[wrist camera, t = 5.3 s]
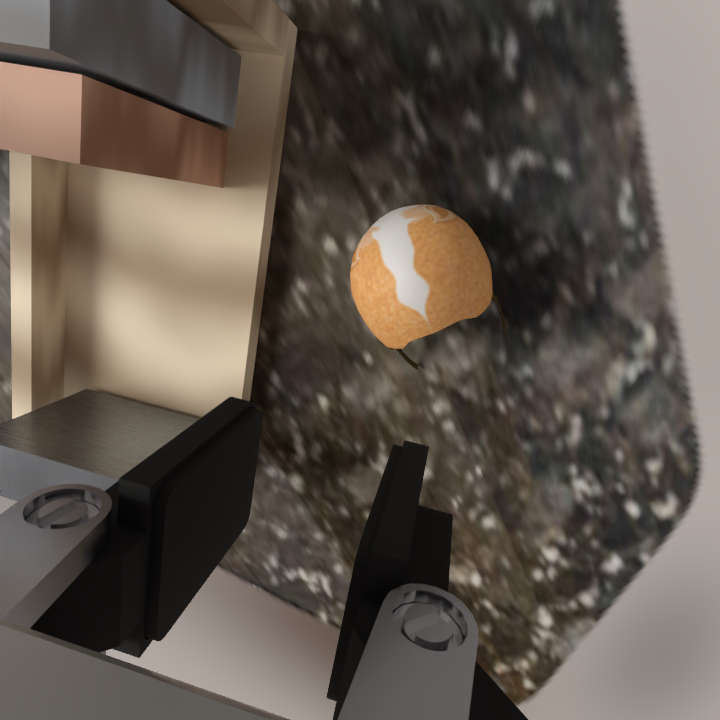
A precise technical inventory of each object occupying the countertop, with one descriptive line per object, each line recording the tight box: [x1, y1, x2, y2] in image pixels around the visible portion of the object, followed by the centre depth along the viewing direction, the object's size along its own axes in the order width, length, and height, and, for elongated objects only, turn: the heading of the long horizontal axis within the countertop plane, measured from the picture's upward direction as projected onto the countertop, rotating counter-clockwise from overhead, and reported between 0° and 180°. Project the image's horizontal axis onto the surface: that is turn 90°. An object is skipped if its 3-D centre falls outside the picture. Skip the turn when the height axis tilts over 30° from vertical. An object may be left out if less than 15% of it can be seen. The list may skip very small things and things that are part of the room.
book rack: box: [0, 0, 298, 419], centre depth 22 cm, size 23×12×12 cm, turn 170°
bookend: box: [0, 389, 199, 501], centre depth 25 cm, size 2×8×7 cm, turn 79°
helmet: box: [350, 204, 506, 370], centre depth 23 cm, size 6×7×8 cm
